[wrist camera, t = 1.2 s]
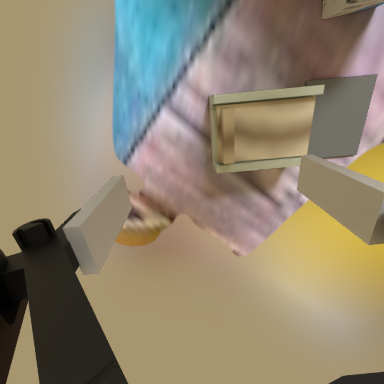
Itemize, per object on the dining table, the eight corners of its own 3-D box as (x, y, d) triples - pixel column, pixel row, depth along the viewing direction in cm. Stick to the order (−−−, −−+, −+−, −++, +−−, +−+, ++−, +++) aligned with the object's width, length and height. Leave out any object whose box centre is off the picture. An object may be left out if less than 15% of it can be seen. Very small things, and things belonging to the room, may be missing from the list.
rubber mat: (306, 80, 34) (307, 80, 34) (375, 74, 34) (377, 74, 34) (295, 159, 40) (296, 160, 40) (354, 154, 40) (356, 154, 40)
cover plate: (216, 105, 31) (219, 106, 28) (311, 96, 31) (326, 96, 28) (217, 161, 35) (221, 167, 31) (303, 153, 35) (315, 158, 31)
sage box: (208, 96, 35) (214, 95, 29) (299, 87, 35) (324, 84, 29) (211, 162, 40) (216, 173, 34) (291, 155, 40) (311, 164, 33)
